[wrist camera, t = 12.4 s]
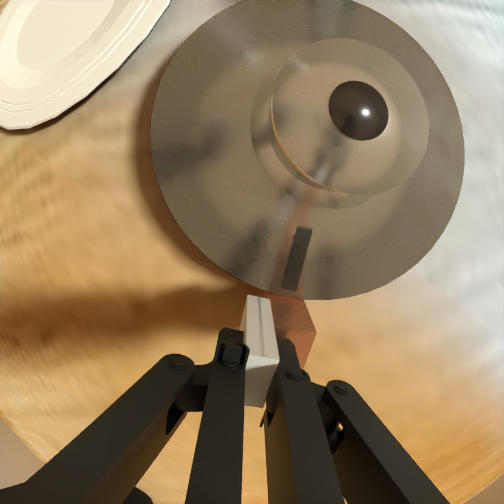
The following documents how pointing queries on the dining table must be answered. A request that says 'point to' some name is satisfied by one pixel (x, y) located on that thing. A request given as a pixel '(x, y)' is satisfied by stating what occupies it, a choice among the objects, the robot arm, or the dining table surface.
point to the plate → (65, 52)
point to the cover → (339, 124)
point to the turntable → (265, 190)
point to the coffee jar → (137, 497)
